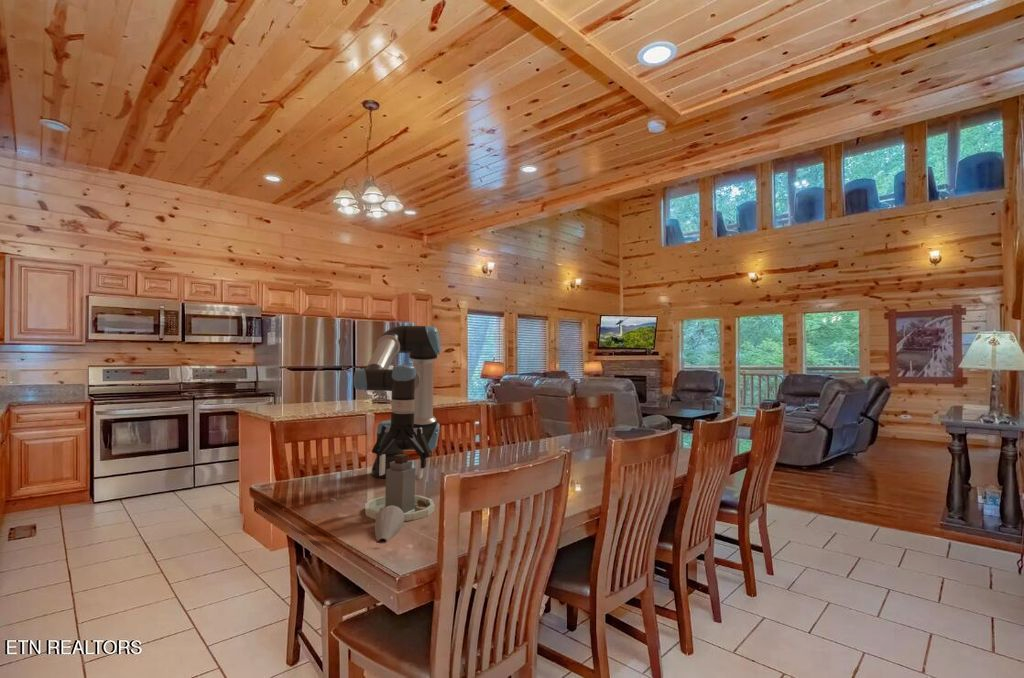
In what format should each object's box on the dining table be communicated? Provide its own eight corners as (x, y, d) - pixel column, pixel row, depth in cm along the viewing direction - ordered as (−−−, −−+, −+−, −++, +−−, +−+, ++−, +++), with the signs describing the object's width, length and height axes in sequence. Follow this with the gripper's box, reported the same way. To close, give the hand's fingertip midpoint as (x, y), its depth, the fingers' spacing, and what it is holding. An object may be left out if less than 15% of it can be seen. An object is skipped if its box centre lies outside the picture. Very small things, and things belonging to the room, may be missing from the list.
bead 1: (419, 504, 176) (419, 498, 176) (427, 505, 175) (427, 499, 175) (416, 507, 173) (416, 501, 173) (423, 507, 173) (424, 501, 173)
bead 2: (416, 512, 167) (417, 506, 167) (425, 513, 167) (425, 507, 167) (413, 515, 165) (413, 508, 165) (421, 516, 164) (421, 509, 164)
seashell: (391, 559, 150) (401, 510, 161) (407, 547, 143) (416, 496, 154) (363, 552, 147) (375, 502, 158) (378, 539, 140) (389, 488, 150)
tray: (384, 501, 182) (384, 492, 183) (442, 507, 178) (443, 497, 178) (352, 521, 161) (352, 510, 161) (417, 528, 156) (418, 517, 156)
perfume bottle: (384, 511, 168) (386, 455, 168) (397, 505, 174) (399, 452, 174) (401, 514, 165) (403, 458, 165) (414, 508, 171) (415, 454, 171)
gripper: (362, 411, 169) (360, 476, 169) (434, 415, 164) (432, 482, 164) (373, 408, 177) (371, 470, 176) (442, 412, 171) (440, 476, 171)
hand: (401, 476), depth 170 cm, fingers open, 13 cm apart
